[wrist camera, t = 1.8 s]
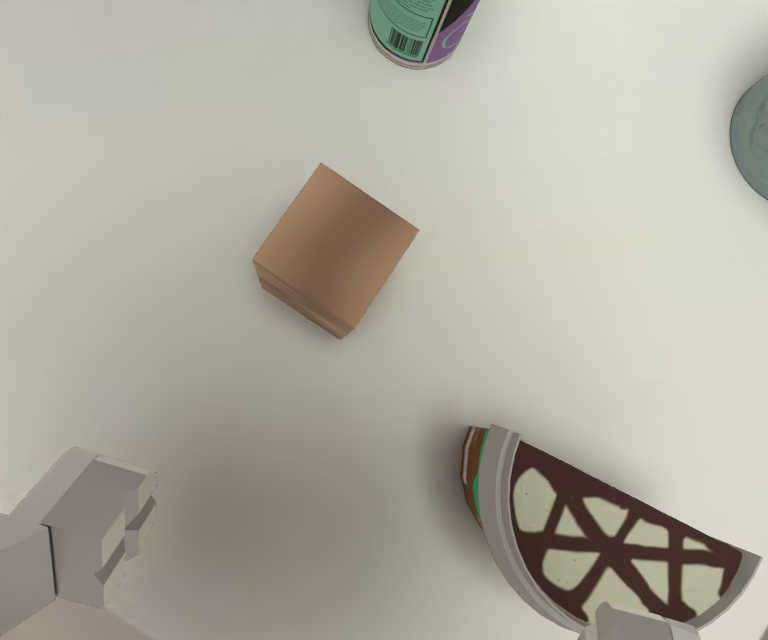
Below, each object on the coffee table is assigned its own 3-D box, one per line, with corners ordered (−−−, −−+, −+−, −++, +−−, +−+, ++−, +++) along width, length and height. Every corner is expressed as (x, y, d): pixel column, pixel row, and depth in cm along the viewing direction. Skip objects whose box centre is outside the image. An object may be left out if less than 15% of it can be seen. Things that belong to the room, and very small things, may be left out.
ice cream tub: (396, 519, 33) (439, 578, 23) (446, 413, 34) (508, 427, 24) (596, 616, 34) (718, 712, 24) (639, 511, 35) (774, 562, 25)
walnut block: (262, 287, 33) (252, 259, 25) (314, 212, 34) (321, 162, 26) (340, 339, 34) (354, 327, 26) (390, 264, 34) (419, 230, 26)
